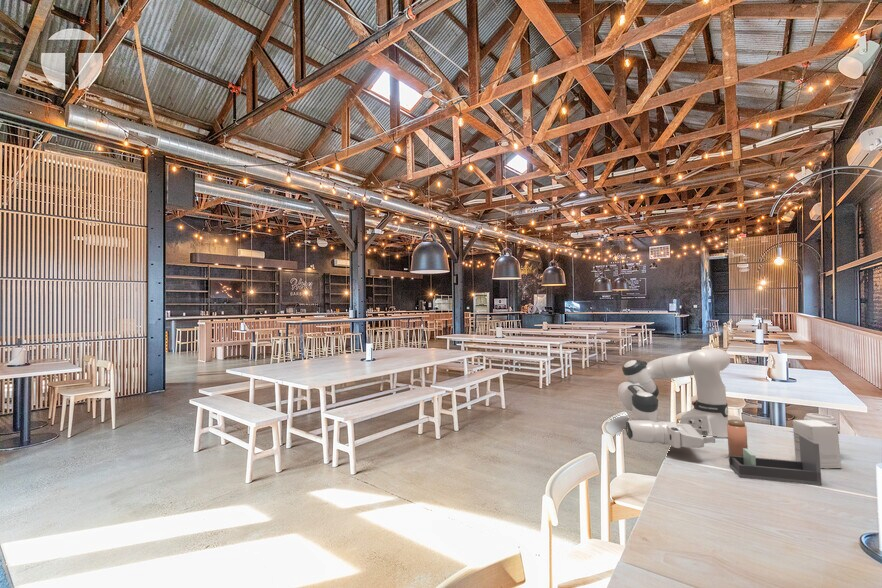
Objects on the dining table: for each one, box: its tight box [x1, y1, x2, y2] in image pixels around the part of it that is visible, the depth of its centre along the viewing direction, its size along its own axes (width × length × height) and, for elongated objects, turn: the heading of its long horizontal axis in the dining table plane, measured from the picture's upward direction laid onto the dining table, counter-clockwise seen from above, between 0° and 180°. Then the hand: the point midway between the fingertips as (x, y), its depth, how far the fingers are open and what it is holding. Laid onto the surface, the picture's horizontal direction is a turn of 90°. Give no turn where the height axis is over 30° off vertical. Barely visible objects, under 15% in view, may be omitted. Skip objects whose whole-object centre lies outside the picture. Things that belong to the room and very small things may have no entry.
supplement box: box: [792, 419, 842, 469], centre depth 145 cm, size 9×9×15 cm
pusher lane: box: [728, 435, 822, 486], centre depth 136 cm, size 22×10×13 cm, turn 70°
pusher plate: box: [743, 448, 757, 466], centre depth 138 cm, size 1×7×6 cm, turn 160°
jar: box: [727, 419, 749, 457], centre depth 152 cm, size 6×6×14 cm
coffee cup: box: [803, 412, 839, 426], centre depth 154 cm, size 10×10×15 cm
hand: (710, 436), depth 155 cm, fingers open, 8 cm apart
